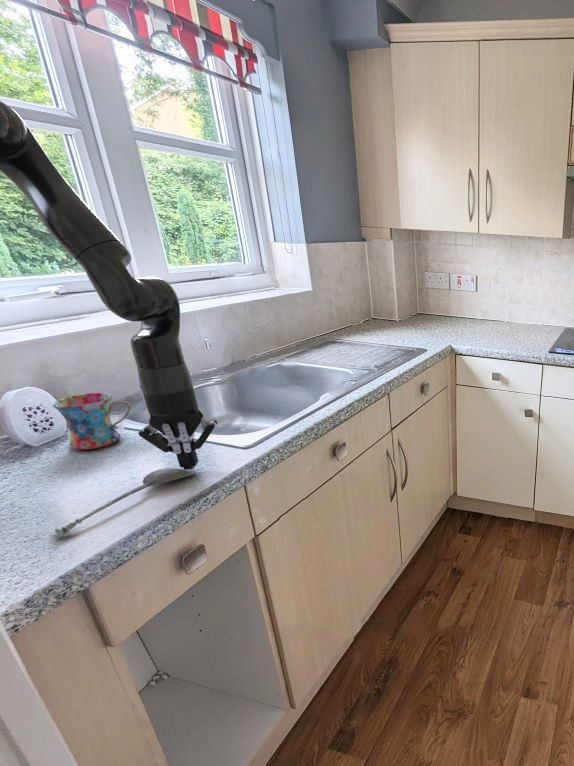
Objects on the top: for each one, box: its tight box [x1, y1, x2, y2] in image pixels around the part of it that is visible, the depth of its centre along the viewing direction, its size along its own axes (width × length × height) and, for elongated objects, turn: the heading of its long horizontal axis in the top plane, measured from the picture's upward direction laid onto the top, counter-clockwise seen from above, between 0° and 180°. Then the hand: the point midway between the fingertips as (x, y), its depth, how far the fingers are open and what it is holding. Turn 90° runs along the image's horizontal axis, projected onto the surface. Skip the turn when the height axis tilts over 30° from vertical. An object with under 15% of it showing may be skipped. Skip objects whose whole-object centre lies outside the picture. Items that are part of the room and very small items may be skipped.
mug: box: [52, 392, 132, 450], centre depth 101 cm, size 12×9×11 cm
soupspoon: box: [54, 467, 192, 538], centre depth 81 cm, size 22×3×7 cm
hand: (190, 467), depth 91 cm, fingers closed
